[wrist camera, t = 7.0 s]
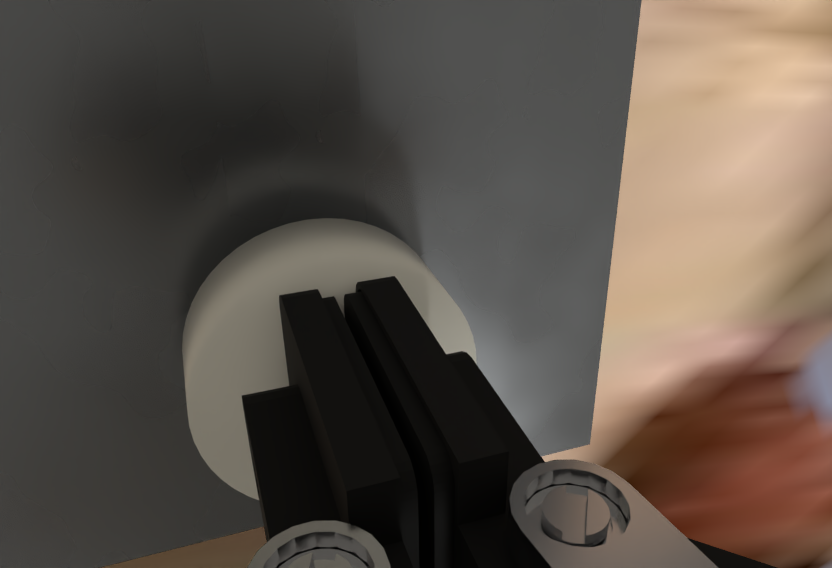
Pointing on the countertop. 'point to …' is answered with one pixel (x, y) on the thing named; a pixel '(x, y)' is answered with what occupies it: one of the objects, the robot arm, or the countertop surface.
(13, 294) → the housing
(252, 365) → the knob
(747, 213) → the countertop surface
